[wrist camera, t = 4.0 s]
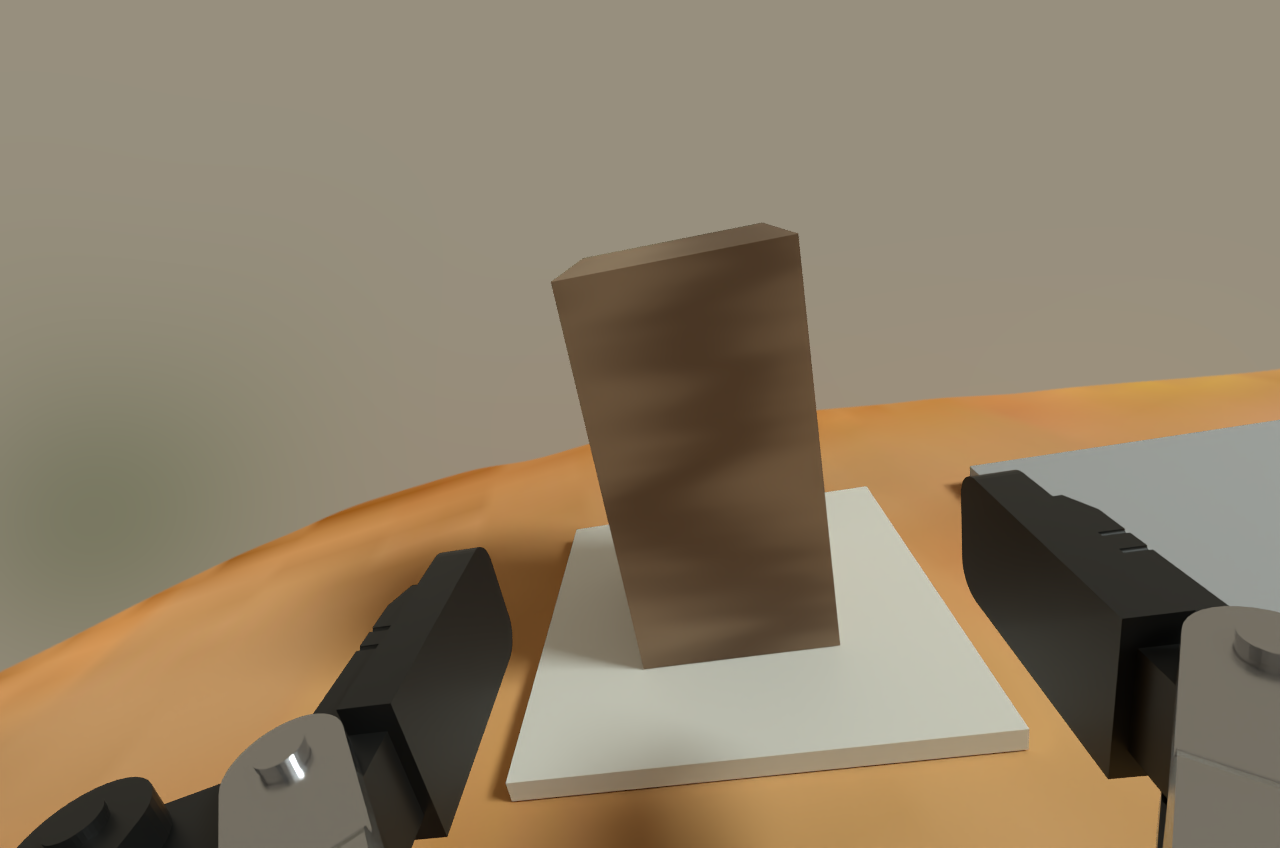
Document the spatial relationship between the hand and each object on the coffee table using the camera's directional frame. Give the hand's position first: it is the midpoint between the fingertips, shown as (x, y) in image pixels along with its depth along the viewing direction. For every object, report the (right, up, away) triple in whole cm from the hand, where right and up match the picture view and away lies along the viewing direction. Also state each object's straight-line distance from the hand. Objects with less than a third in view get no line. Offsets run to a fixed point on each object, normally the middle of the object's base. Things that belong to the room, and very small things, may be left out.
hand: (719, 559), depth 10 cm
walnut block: (+2, -3, +9) cm, 10 cm away
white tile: (+2, -4, +10) cm, 10 cm away
